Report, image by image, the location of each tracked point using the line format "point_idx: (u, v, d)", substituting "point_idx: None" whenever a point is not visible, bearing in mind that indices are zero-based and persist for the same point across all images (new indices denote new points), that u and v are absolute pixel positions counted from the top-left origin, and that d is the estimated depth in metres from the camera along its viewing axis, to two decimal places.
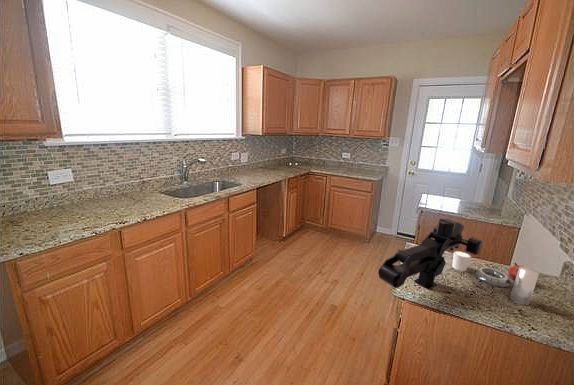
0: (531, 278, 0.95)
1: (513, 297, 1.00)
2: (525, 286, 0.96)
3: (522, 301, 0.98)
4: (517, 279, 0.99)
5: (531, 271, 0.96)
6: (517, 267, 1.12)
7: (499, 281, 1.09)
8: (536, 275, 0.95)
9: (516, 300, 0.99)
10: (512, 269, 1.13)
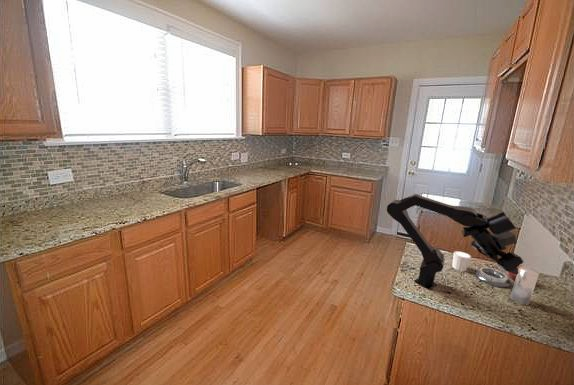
0: (531, 278, 0.95)
1: (513, 297, 1.00)
2: (525, 286, 0.96)
3: (522, 301, 0.98)
4: (517, 279, 0.99)
5: (531, 271, 0.96)
6: (517, 267, 1.12)
7: (499, 281, 1.09)
8: (536, 275, 0.95)
9: (516, 300, 0.99)
10: None
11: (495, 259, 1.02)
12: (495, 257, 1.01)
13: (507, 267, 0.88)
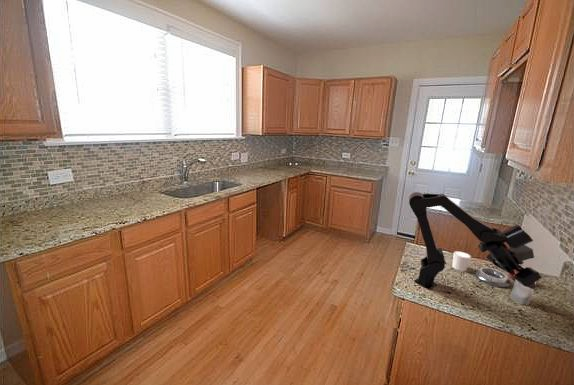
0: None
1: (513, 297, 1.00)
2: None
3: (522, 301, 0.98)
4: None
5: None
6: None
7: (499, 281, 1.09)
8: None
9: (516, 300, 0.99)
10: None
11: (511, 272, 1.02)
12: (511, 270, 1.02)
13: (525, 282, 0.88)
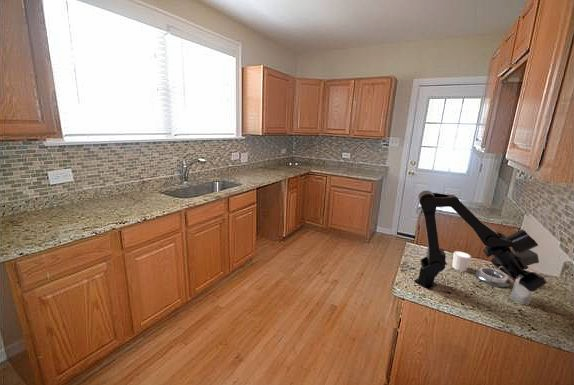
0: None
1: (513, 297, 1.00)
2: None
3: (522, 301, 0.98)
4: (517, 279, 0.99)
5: (531, 271, 0.96)
6: None
7: (499, 281, 1.09)
8: None
9: (516, 300, 0.99)
10: None
11: None
12: None
13: (530, 287, 0.89)
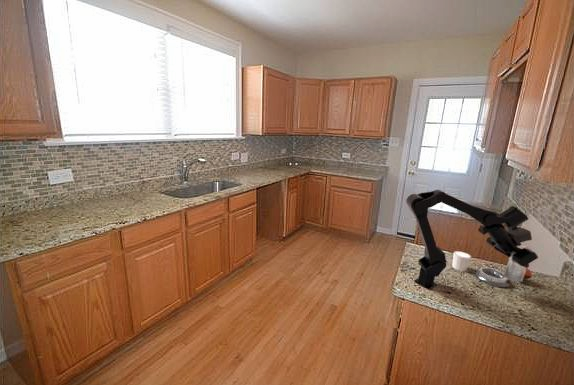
0: None
1: (507, 274, 1.03)
2: None
3: (515, 278, 1.01)
4: (511, 257, 1.02)
5: None
6: None
7: (499, 281, 1.09)
8: None
9: (509, 277, 1.02)
10: None
11: None
12: None
13: (522, 262, 0.92)
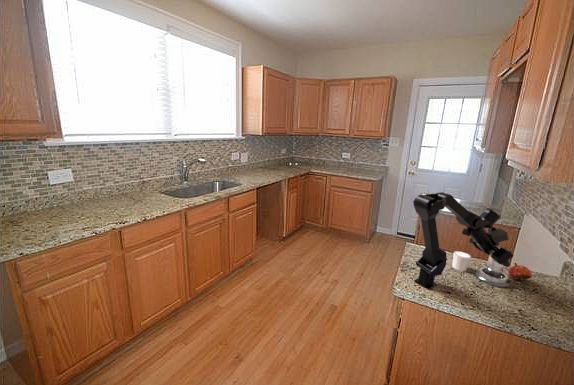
0: None
1: None
2: (496, 264, 1.10)
3: None
4: (489, 258, 1.12)
5: None
6: (517, 267, 1.12)
7: (499, 281, 1.09)
8: None
9: None
10: (512, 269, 1.13)
11: None
12: None
13: (499, 260, 1.02)
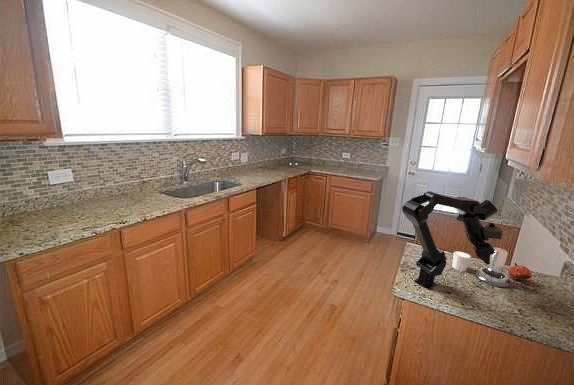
0: (501, 256, 1.08)
1: None
2: (496, 264, 1.10)
3: None
4: (490, 258, 1.12)
5: (502, 251, 1.10)
6: (517, 267, 1.12)
7: (499, 281, 1.09)
8: (505, 254, 1.08)
9: None
10: (512, 269, 1.13)
11: None
12: None
13: (477, 252, 1.00)
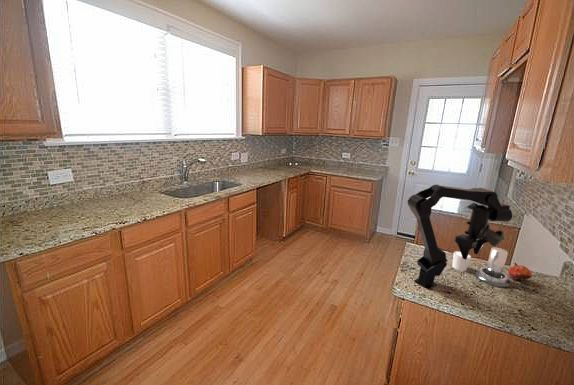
0: (501, 256, 1.08)
1: None
2: (496, 264, 1.10)
3: None
4: (490, 258, 1.12)
5: (502, 251, 1.10)
6: (517, 267, 1.12)
7: (499, 281, 1.09)
8: (505, 254, 1.08)
9: None
10: (512, 269, 1.13)
11: (475, 250, 1.08)
12: (476, 249, 1.08)
13: (457, 238, 1.01)
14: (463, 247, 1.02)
